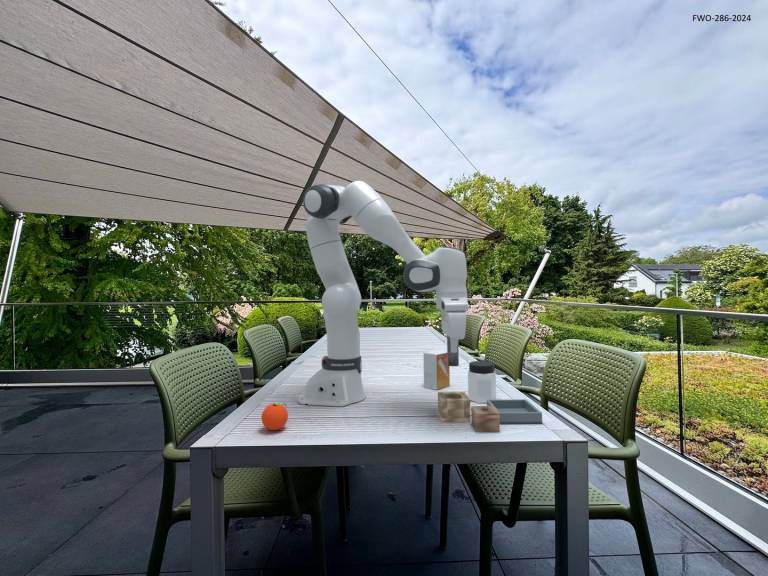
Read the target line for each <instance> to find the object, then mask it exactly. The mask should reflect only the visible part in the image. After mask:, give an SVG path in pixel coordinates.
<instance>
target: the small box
mask: <svg viewBox="0 0 768 576" xmlns="http://www.w3.org/2000/svg"><path fill="white" fill-rule="evenodd" d="M450 367H451V366H448V364H447V350H439V349H436V350H432V351H431V350H430V351H427V352H423V388H425V389H429V390H434V391H438V390H442V389H445V388H447V387H450V386H451V385H450V384H451V383H450V381H451V379H450V371H451V370H450Z"/></svg>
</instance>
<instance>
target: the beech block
mask: <svg viewBox="0 0 768 576" xmlns="http://www.w3.org/2000/svg"><path fill="white" fill-rule="evenodd" d="M437 413H438V416H439V419H440V422H441V423H470V422H471V400H470V399H469V398H468V395H467V393H466V392H465V391H450V392H449V391H445V392H444V391H441V392H439V391H438V392H437Z"/></svg>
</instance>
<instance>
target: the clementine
mask: <svg viewBox="0 0 768 576" xmlns="http://www.w3.org/2000/svg"><path fill="white" fill-rule="evenodd" d="M285 406H286V407H285ZM287 408H288V406H287V405H286V403H284V402H274V403H270V404H268V405H267V406H266V407H265V408H264V410H263V411H262V413H261V423H262V425H263V427H264V428H266V429H267V430H269V431H278V429H279V430H281V429H282V428H283V427H284V426H285V425H286V424H287V421H288V420H289V413H288V410H287Z"/></svg>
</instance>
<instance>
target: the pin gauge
mask: <svg viewBox="0 0 768 576" xmlns="http://www.w3.org/2000/svg"><path fill="white" fill-rule="evenodd" d="M450 346H451V345H450V337H449V336H448V335H447V334H446V348H447V349H446V352H447V364H448V366H450V367H459V365H460V360H459V356H460V354H459V350H460V349H459V345H458V346H457V352H456V353H452V352H451V351H450Z"/></svg>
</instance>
